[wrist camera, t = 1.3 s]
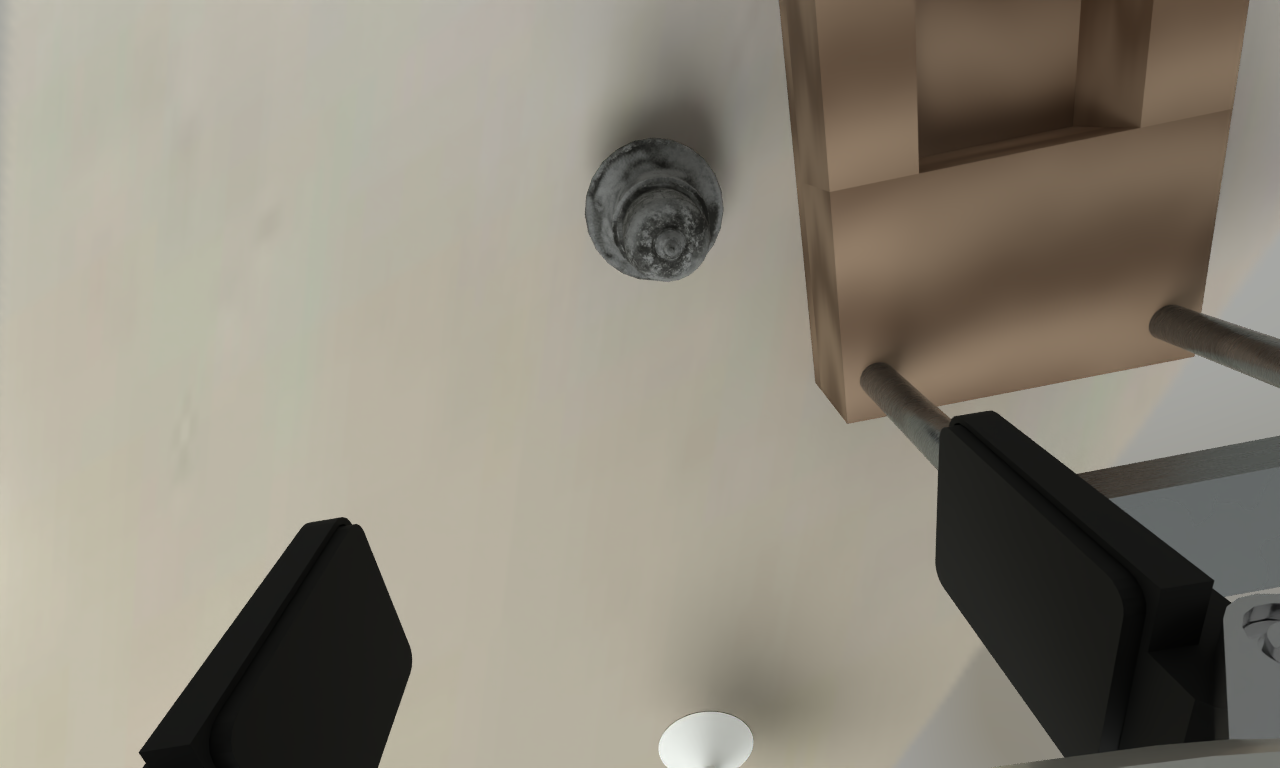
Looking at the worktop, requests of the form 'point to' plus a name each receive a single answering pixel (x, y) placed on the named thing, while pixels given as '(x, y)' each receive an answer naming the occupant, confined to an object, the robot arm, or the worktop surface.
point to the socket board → (1003, 184)
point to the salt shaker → (654, 209)
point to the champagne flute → (706, 742)
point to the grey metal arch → (1167, 462)
